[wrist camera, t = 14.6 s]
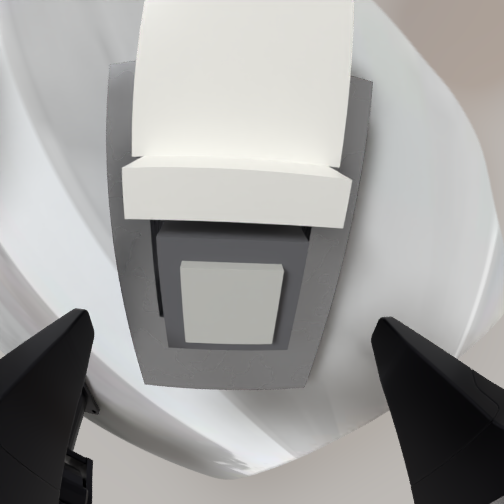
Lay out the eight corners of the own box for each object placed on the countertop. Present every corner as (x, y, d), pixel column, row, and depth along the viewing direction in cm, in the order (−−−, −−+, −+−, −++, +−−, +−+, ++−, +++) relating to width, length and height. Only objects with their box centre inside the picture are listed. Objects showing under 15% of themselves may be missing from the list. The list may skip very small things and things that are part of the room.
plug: (270, 280, 15) (289, 357, 10) (183, 277, 14) (167, 355, 10) (281, 196, 13) (313, 248, 8) (181, 191, 12) (152, 242, 8)
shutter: (322, 197, 11) (355, 229, 8) (142, 188, 10) (111, 218, 7) (342, 0, 7) (380, -30, 4) (158, -15, 6) (134, -53, 3)
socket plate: (297, 359, 19) (304, 387, 16) (151, 355, 18) (144, 384, 15) (348, 85, 11) (372, 81, 9) (130, 71, 10) (109, 64, 8)
